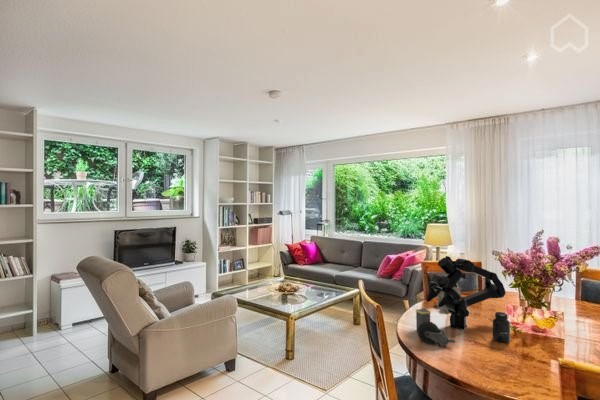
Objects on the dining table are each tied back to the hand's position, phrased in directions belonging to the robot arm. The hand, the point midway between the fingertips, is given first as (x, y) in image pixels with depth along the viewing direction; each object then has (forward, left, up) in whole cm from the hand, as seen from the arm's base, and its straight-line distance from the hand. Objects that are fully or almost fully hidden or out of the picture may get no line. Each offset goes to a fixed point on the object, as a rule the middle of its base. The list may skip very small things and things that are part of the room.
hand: (432, 304), depth 171 cm
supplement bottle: (-28, -6, -13) cm, 31 cm away
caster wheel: (-7, +16, -13) cm, 22 cm away
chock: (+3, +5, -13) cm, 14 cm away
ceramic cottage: (+6, -41, -13) cm, 43 cm away
